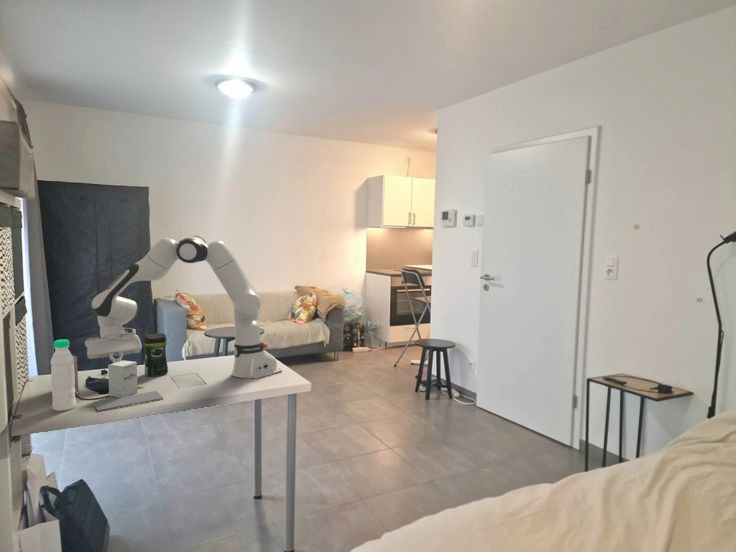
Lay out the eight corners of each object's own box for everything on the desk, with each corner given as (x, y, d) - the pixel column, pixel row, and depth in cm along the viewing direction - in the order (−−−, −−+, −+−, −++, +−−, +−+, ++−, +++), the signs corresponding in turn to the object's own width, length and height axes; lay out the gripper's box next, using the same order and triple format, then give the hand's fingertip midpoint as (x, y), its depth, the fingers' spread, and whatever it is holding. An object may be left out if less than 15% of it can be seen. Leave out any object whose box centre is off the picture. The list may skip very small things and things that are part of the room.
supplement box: (123, 398, 180) (122, 366, 179) (108, 396, 182) (107, 364, 181) (138, 392, 187) (137, 361, 186) (123, 390, 189) (123, 359, 188)
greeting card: (52, 391, 187) (50, 354, 186) (73, 387, 192) (72, 351, 191) (57, 398, 179) (55, 360, 177) (79, 394, 184) (78, 357, 182)
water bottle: (47, 411, 166) (44, 341, 164) (63, 404, 173) (60, 337, 171) (65, 412, 165) (62, 342, 163) (80, 405, 172) (77, 338, 170)
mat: (156, 392, 187) (156, 390, 187) (163, 399, 179) (163, 397, 179) (93, 403, 174) (93, 402, 174) (97, 411, 166) (97, 410, 166)
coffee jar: (165, 370, 217) (164, 331, 216) (169, 374, 211) (168, 334, 209) (142, 373, 212) (141, 333, 210) (146, 378, 205) (144, 336, 204)
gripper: (84, 334, 191) (88, 363, 184) (139, 328, 204) (145, 355, 197) (83, 343, 195) (87, 371, 188) (137, 337, 208) (142, 363, 201)
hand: (117, 363), depth 193 cm, fingers closed
